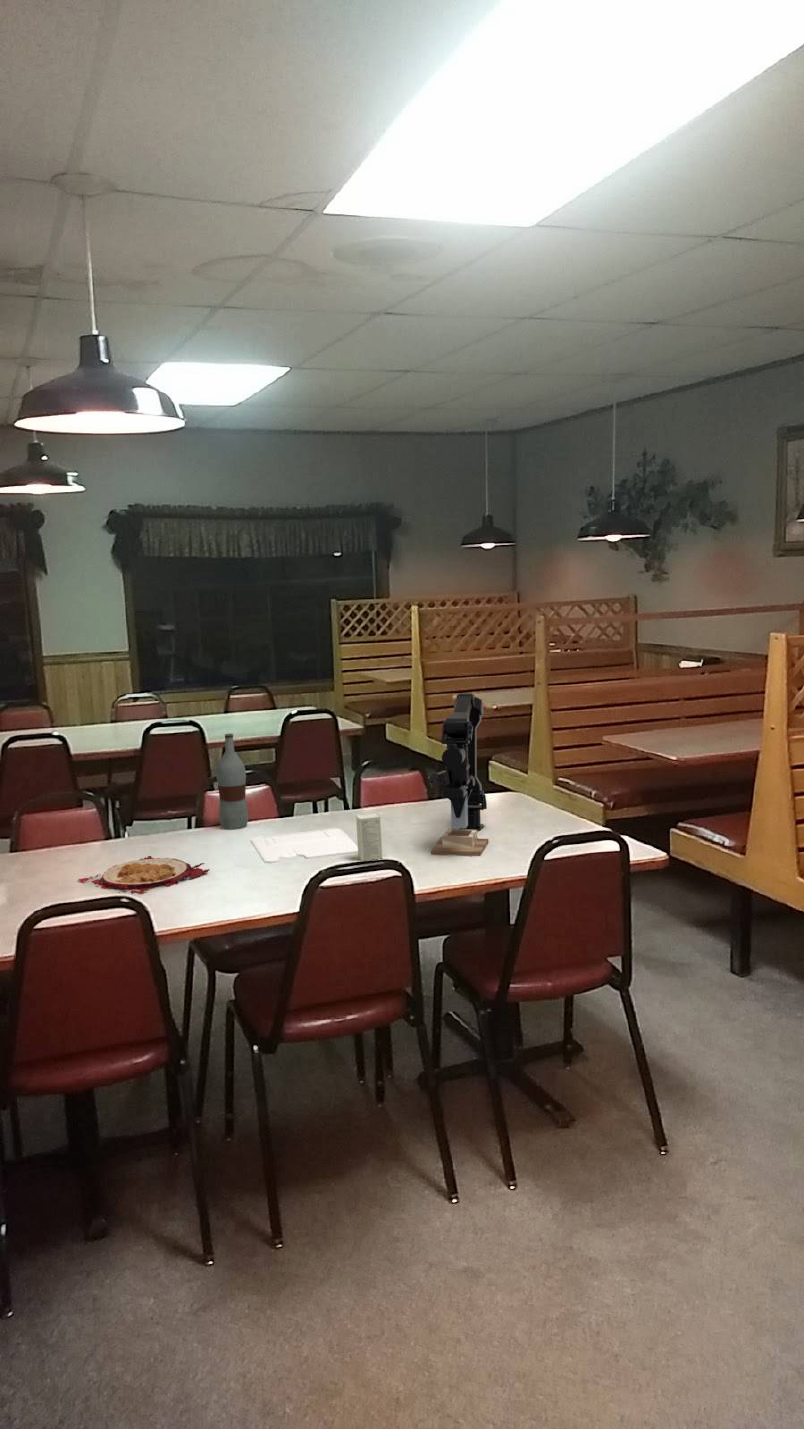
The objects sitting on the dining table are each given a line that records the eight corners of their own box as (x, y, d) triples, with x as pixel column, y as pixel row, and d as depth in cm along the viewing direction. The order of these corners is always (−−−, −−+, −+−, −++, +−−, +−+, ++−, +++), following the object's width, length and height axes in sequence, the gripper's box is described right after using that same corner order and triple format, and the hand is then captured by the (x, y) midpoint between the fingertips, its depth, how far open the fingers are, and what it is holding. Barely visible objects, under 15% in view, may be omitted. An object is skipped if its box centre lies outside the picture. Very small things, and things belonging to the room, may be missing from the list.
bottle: (252, 822, 313) (247, 731, 309) (244, 830, 304) (238, 736, 300) (224, 822, 314) (219, 732, 310) (215, 830, 305) (209, 736, 301)
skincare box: (379, 855, 270) (377, 812, 269) (382, 859, 266) (381, 816, 264) (357, 857, 269) (355, 814, 267) (360, 861, 265) (358, 818, 263)
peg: (454, 824, 276) (453, 790, 274) (468, 824, 275) (467, 790, 273) (451, 827, 272) (450, 793, 271) (465, 828, 271) (464, 793, 270)
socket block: (441, 841, 283) (441, 826, 282) (488, 842, 279) (488, 827, 278) (430, 854, 269) (430, 838, 269) (480, 856, 266) (479, 840, 265)
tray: (363, 854, 274) (363, 849, 274) (265, 866, 265) (265, 860, 265) (339, 831, 300) (339, 826, 300) (249, 841, 292) (249, 836, 292)
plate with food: (150, 862, 274) (149, 850, 273) (210, 874, 258) (209, 861, 258) (77, 885, 255) (76, 873, 255) (137, 899, 240) (135, 886, 239)
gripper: (437, 755, 282) (438, 807, 284) (422, 767, 264) (424, 823, 266) (474, 756, 279) (476, 808, 281) (462, 768, 261) (463, 824, 263)
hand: (459, 815), depth 273 cm, fingers closed on peg, 4 cm apart
